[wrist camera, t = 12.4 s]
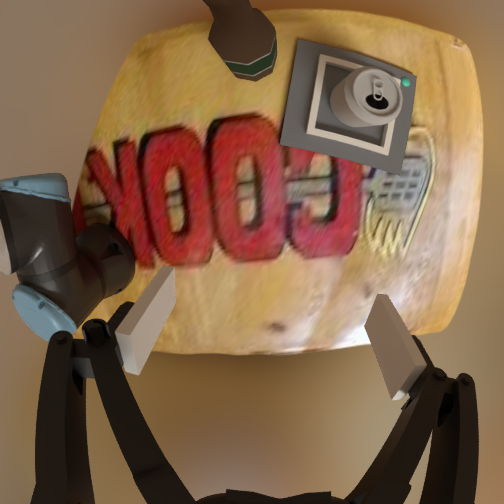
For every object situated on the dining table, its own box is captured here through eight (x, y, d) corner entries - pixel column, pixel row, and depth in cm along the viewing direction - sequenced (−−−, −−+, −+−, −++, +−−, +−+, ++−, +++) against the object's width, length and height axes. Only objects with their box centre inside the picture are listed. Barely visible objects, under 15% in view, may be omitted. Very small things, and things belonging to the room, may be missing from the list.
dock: (279, 144, 39) (279, 144, 37) (298, 41, 32) (299, 35, 30) (397, 174, 39) (403, 177, 36) (414, 77, 31) (420, 74, 29)
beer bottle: (281, 79, 35) (282, 13, 13) (231, 86, 36) (175, 34, 14) (273, 37, 32) (263, -51, 10) (224, 45, 33) (168, -30, 11)
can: (327, 124, 36) (346, 118, 25) (329, 78, 33) (347, 57, 22) (374, 130, 36) (407, 130, 25) (375, 86, 33) (407, 71, 22)
